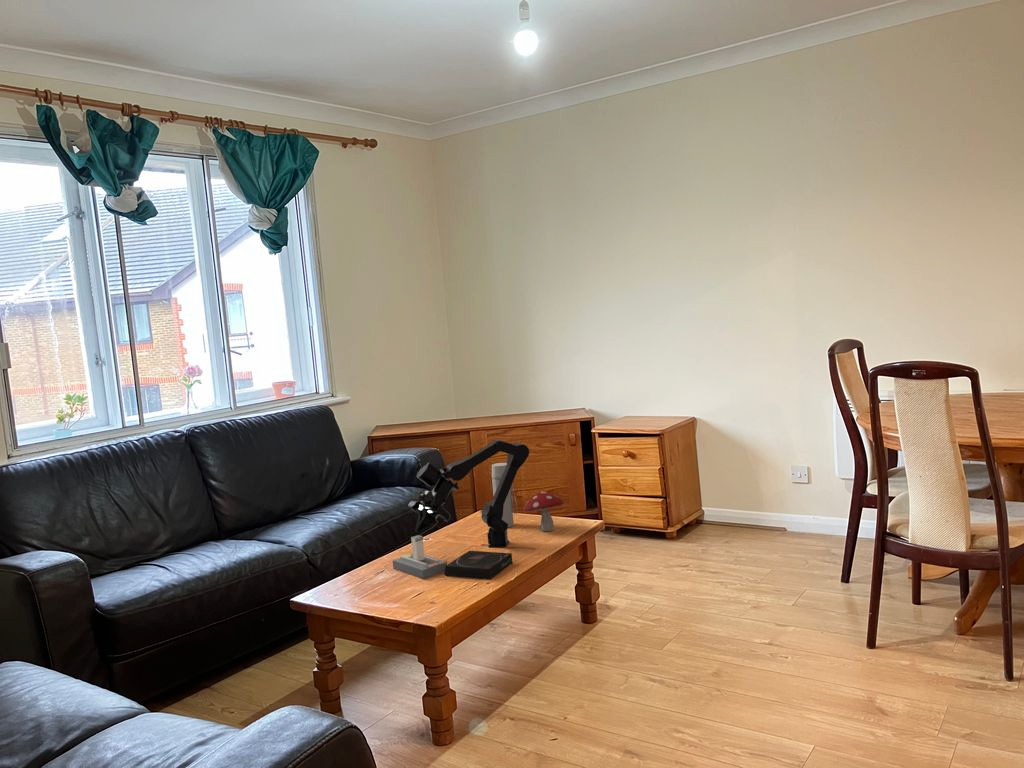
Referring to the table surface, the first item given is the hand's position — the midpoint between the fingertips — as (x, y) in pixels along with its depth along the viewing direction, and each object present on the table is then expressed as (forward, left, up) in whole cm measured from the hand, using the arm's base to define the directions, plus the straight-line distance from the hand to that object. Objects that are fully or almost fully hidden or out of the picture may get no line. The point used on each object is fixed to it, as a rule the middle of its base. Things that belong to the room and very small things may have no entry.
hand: (416, 531), depth 278 cm
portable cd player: (-23, +6, -12) cm, 27 cm away
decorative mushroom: (-37, -39, -12) cm, 55 cm away
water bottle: (-20, -46, -12) cm, 52 cm away
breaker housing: (-2, +6, -12) cm, 13 cm away
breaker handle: (-2, +6, -8) cm, 10 cm away
